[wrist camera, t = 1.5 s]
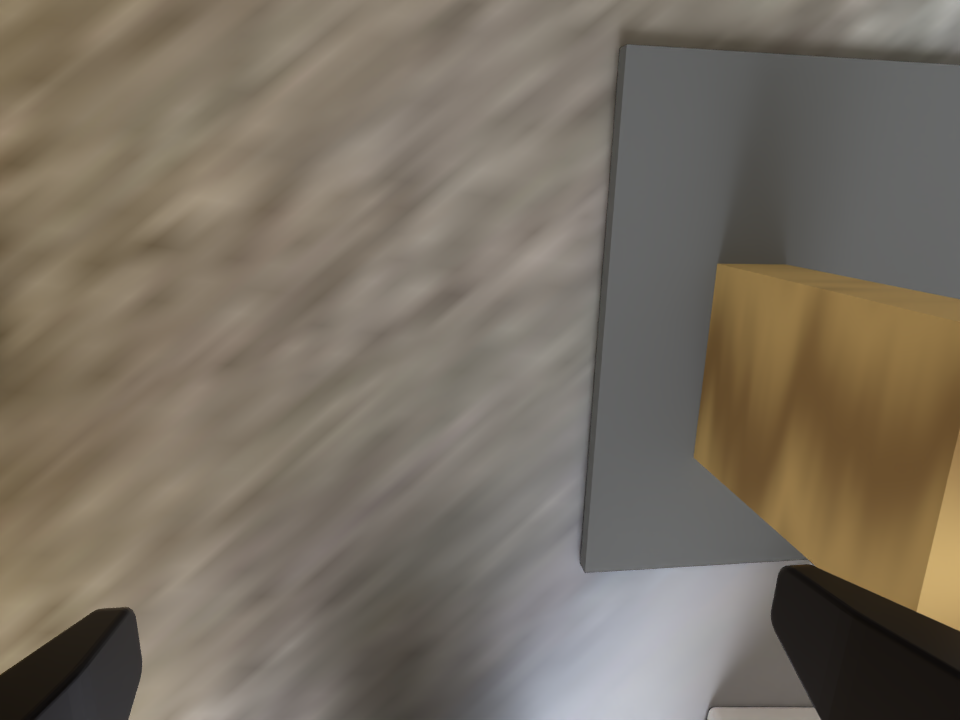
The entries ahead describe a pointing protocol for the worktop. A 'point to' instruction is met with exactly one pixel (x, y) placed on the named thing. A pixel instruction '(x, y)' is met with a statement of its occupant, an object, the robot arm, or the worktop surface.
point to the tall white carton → (763, 713)
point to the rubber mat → (743, 256)
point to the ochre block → (841, 424)
